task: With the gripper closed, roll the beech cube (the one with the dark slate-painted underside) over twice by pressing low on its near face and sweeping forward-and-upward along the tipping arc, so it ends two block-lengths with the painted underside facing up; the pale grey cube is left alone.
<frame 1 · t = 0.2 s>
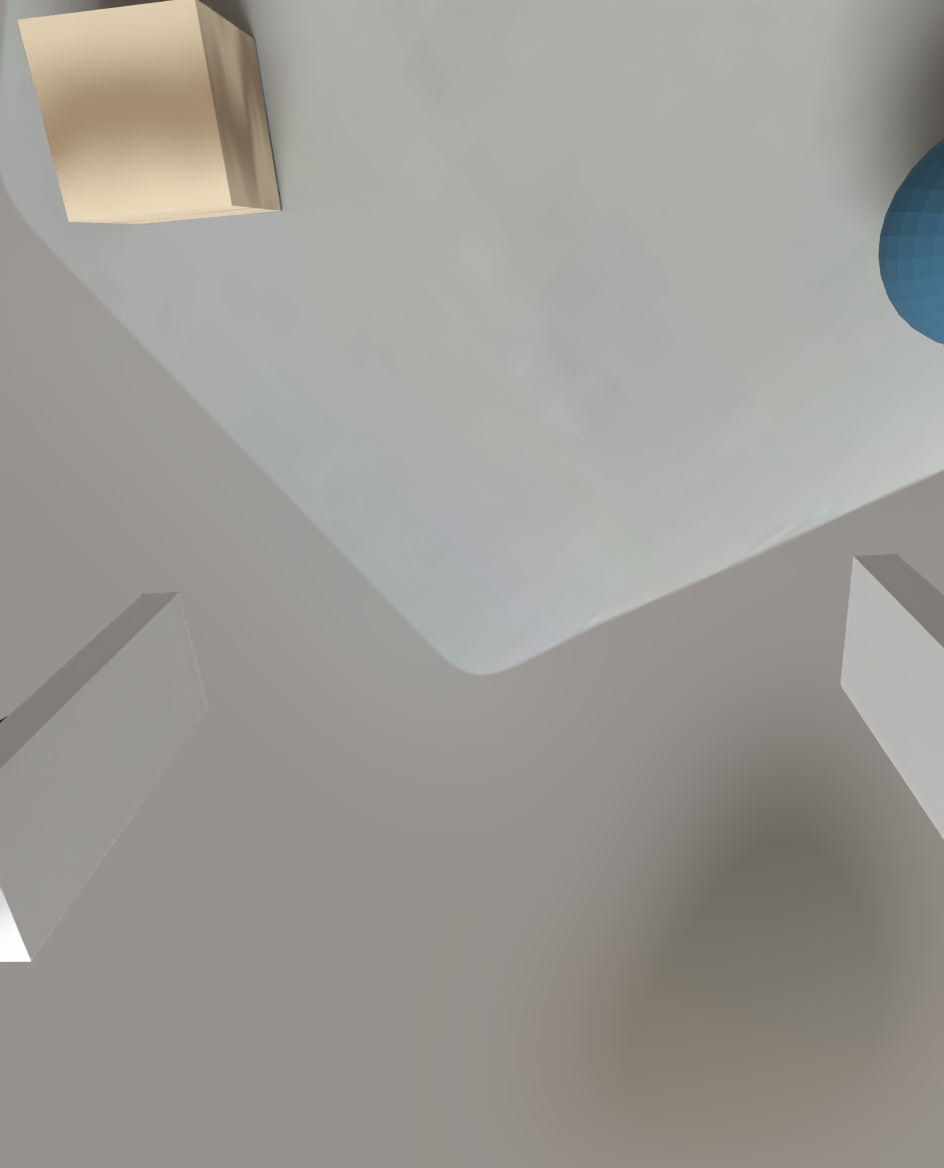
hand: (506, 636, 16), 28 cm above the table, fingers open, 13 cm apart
beech block: (197, 136, 38), on the table
light bulb: (913, 234, 37), on the table
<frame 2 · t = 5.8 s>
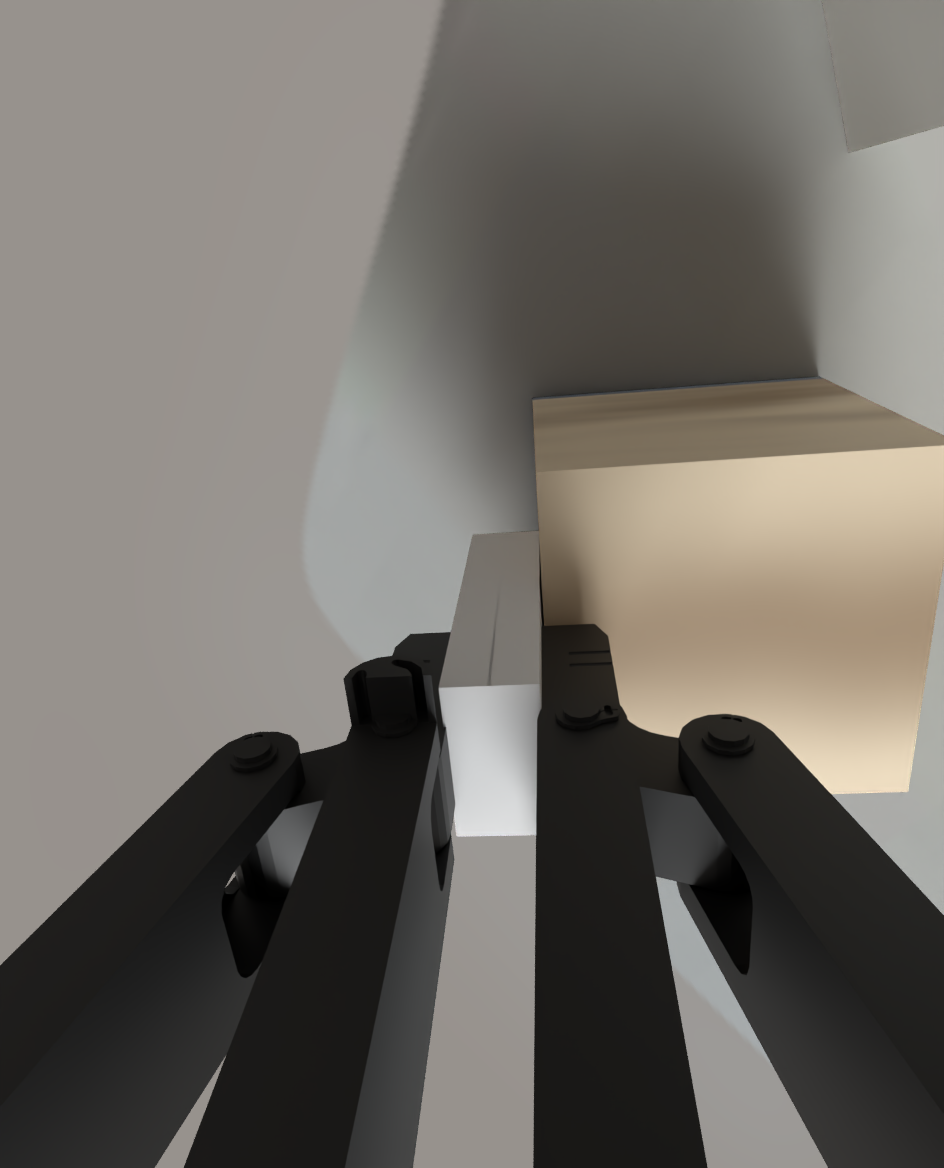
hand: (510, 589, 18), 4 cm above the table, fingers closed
beech block: (671, 521, 21), on the table, touching gripper
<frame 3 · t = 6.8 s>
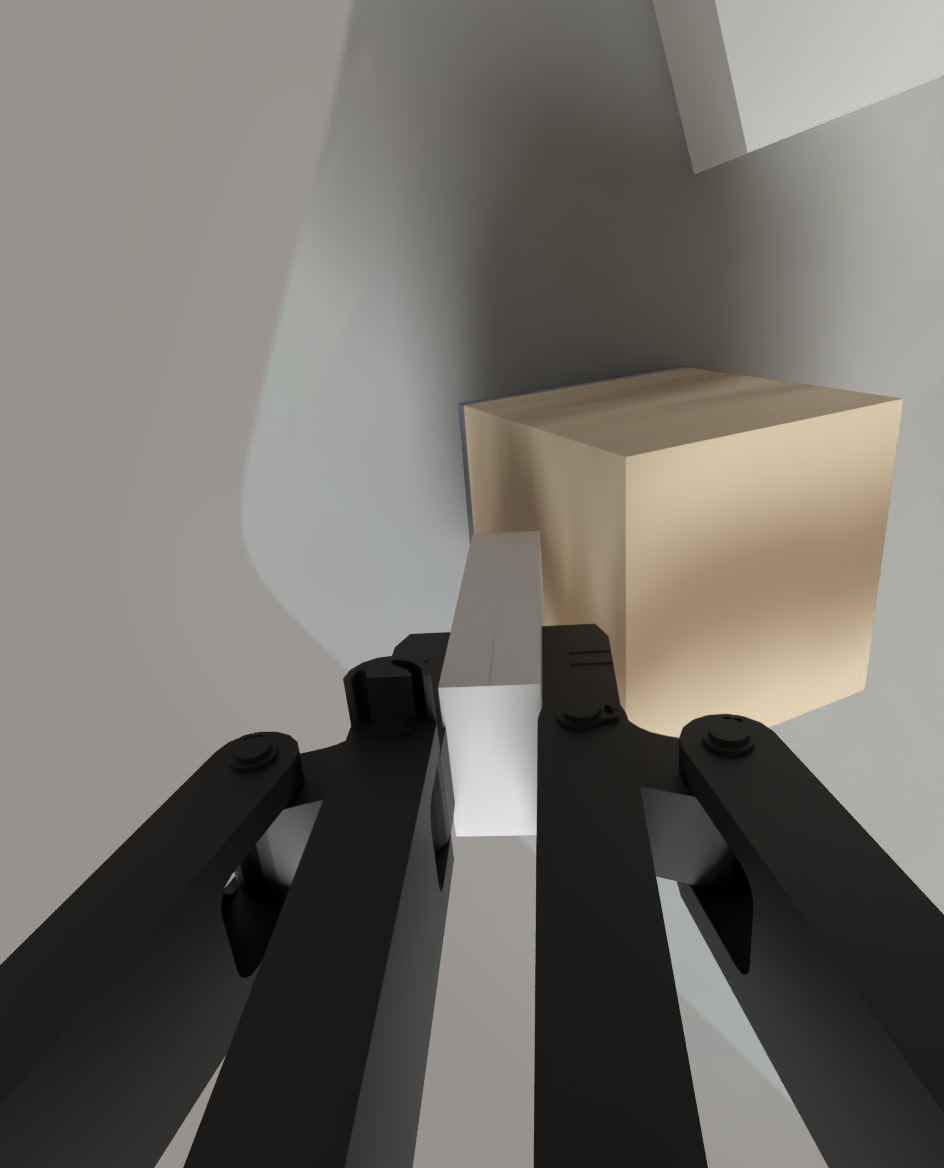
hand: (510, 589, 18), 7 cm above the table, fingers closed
beech block: (580, 509, 23), point 2 cm above the table, tilted 30°, touching gripper
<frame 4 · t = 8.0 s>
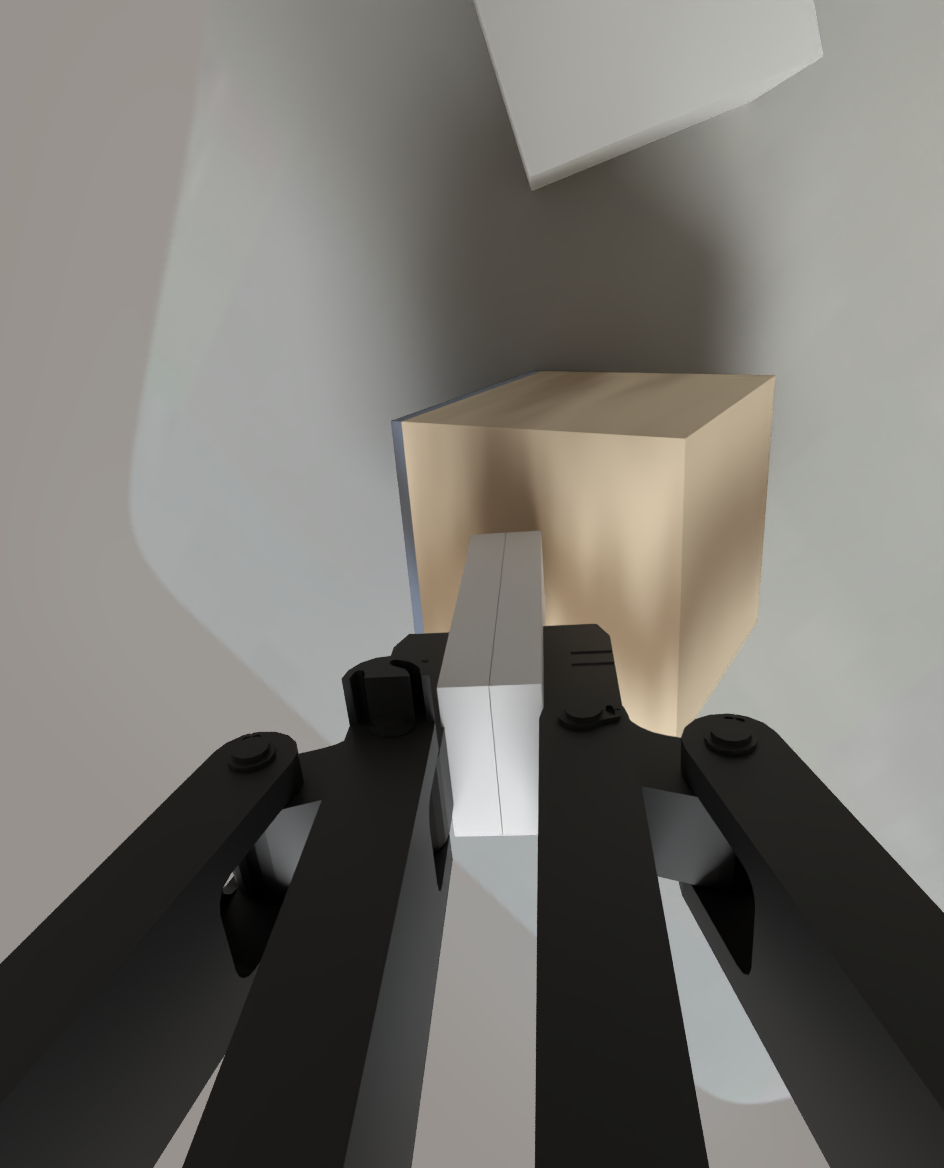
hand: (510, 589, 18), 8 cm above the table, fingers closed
grey block: (605, 24, 21), on the table
beech block: (479, 517, 23), point 3 cm above the table, tilted 62°, touching gripper
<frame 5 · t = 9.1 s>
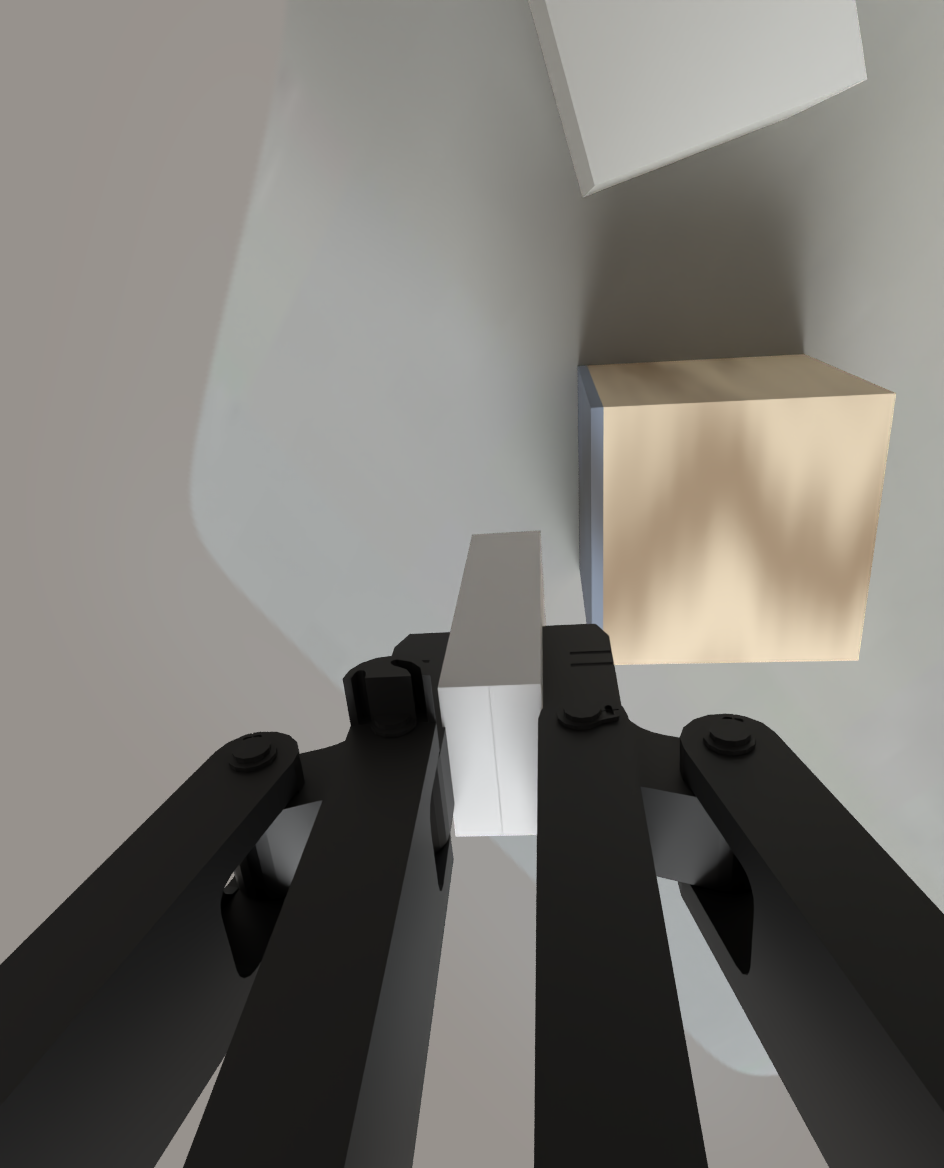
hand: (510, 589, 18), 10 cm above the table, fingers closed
grey block: (656, 44, 22), on the table
beech block: (584, 503, 24), point 3 cm above the table, tilted 90°
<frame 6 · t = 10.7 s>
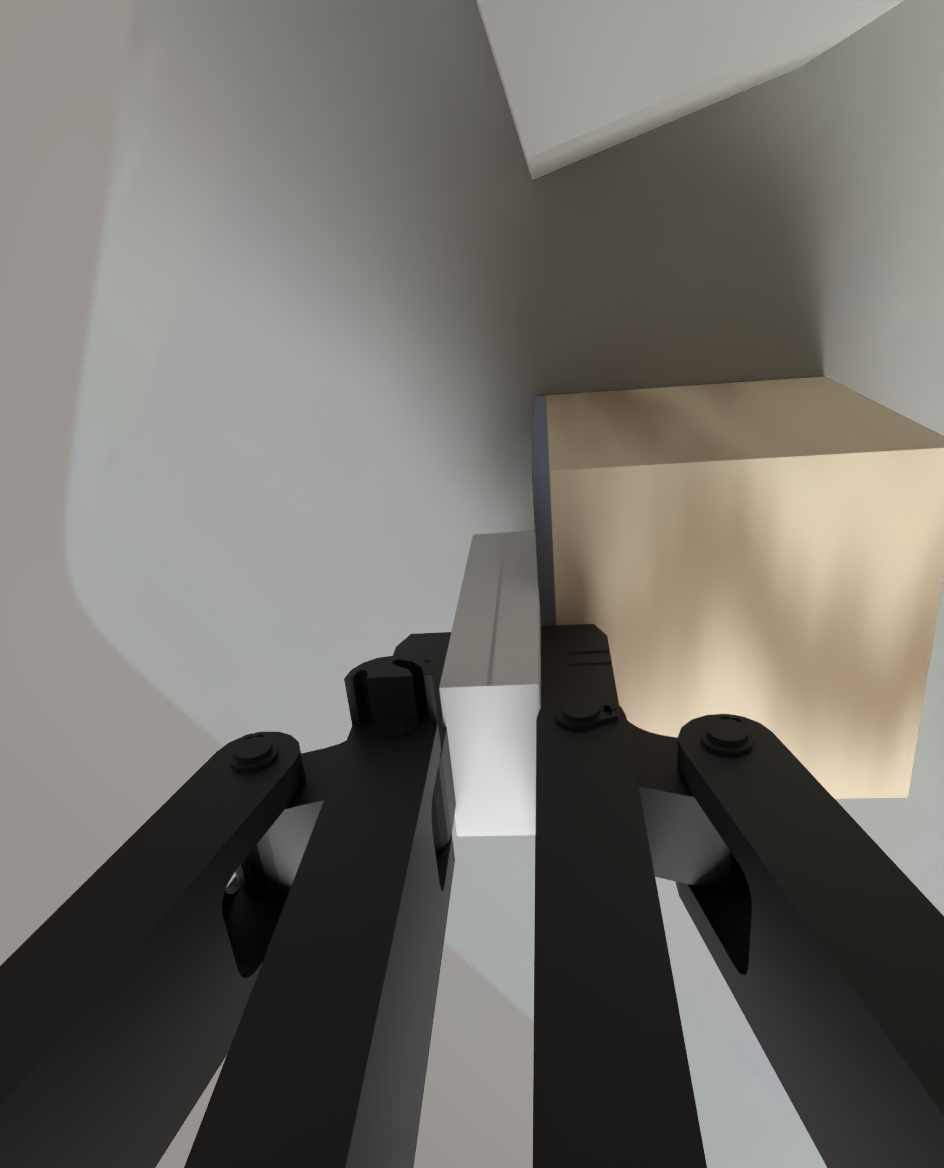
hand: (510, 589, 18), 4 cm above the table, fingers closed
beech block: (541, 579, 18), point 4 cm above the table, tilted 90°, touching gripper
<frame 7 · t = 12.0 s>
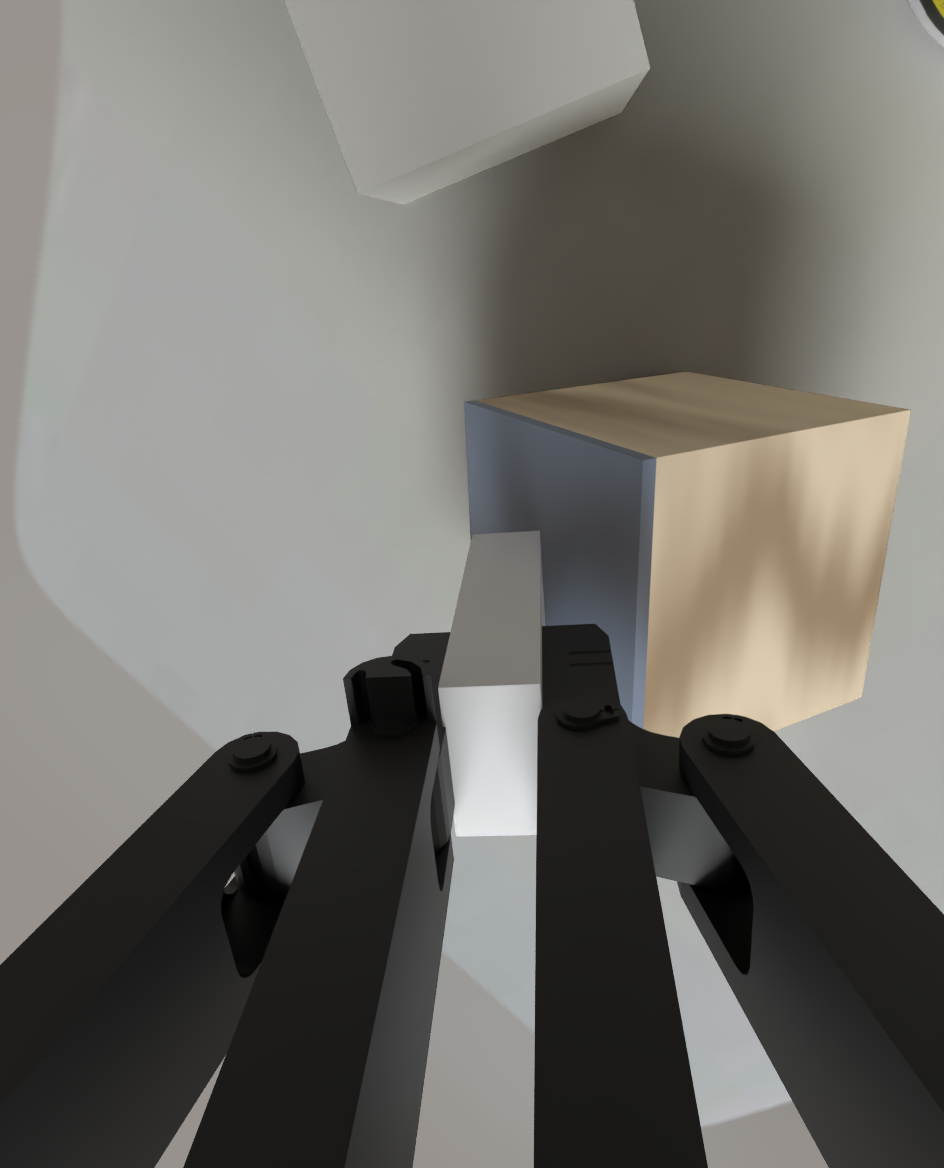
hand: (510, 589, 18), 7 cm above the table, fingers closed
grey block: (469, 33, 20), on the table
beech block: (539, 578, 18), point 7 cm above the table, tilted 122°, touching gripper
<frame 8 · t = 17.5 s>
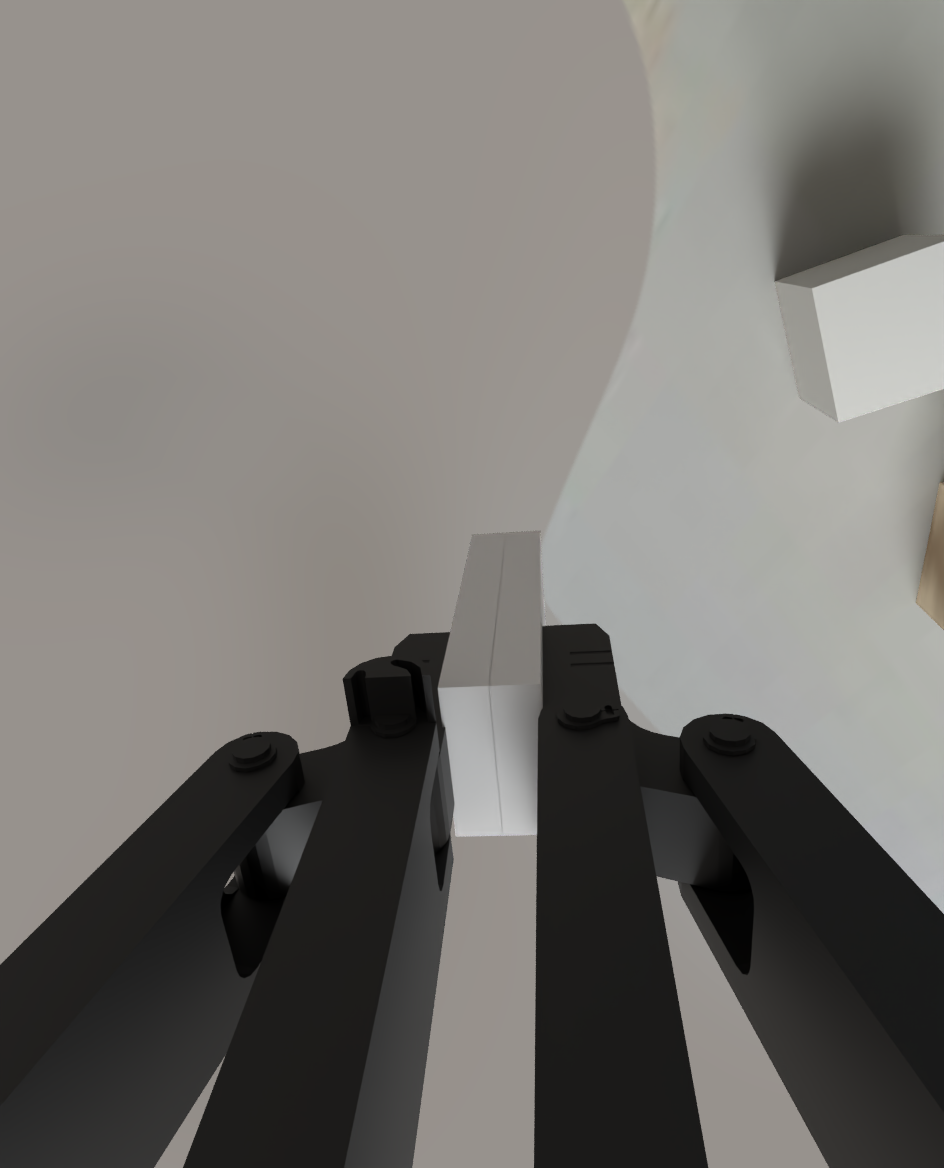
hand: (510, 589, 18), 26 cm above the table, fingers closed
grey block: (848, 319, 40), on the table
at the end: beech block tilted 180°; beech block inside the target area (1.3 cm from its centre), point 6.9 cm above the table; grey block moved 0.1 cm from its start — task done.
